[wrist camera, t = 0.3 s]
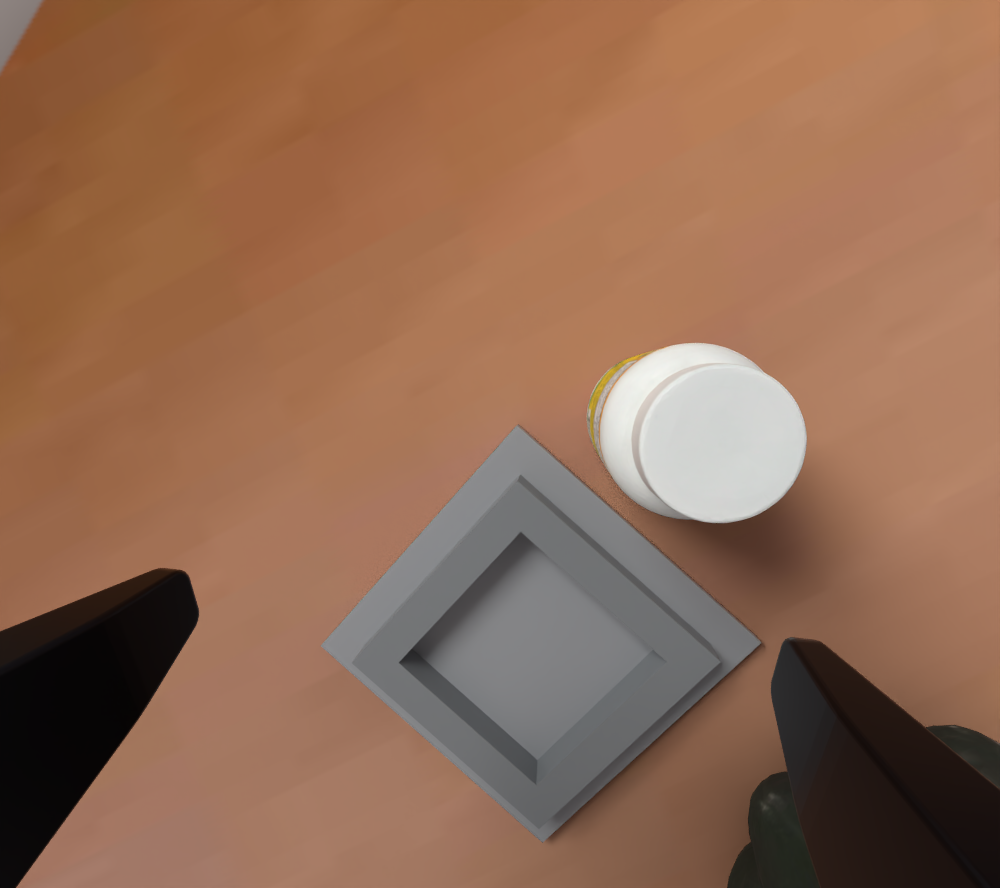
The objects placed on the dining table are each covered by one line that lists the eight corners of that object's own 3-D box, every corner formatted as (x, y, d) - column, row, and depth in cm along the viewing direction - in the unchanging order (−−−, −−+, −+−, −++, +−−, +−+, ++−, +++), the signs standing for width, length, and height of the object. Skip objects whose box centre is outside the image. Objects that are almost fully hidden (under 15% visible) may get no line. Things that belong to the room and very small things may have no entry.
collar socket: (543, 831, 25) (541, 872, 23) (326, 639, 25) (305, 663, 23) (756, 635, 23) (776, 661, 21) (518, 423, 23) (514, 428, 21)
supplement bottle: (563, 438, 23) (568, 481, 13) (628, 329, 22) (684, 290, 12) (671, 500, 23) (754, 589, 13) (741, 393, 22) (885, 404, 12)
